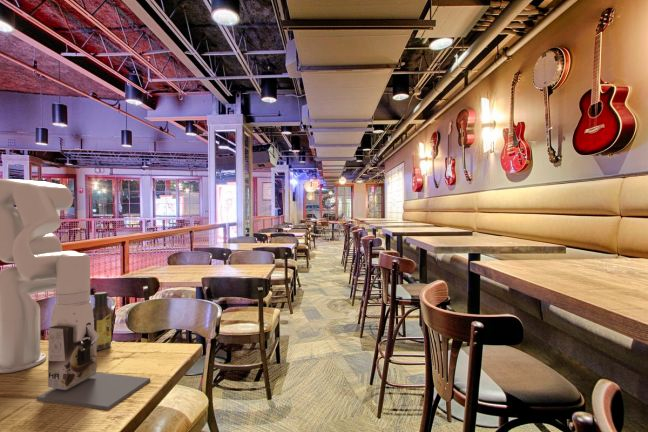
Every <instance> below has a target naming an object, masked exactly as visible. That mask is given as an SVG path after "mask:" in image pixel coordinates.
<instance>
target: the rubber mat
mask: <svg viewBox="0 0 648 432" xmlns="http://www.w3.org/2000/svg"><path fill="white" fill-rule="evenodd" d="M150 382H151V378H150V377H141V376H135V375H134V376H133V375H124V374H116V373H109V372H107V373H106V372H97V371H96V374H95V375H93V376H91V377H90V378H88V379H86V380H84V381H82V382H80V383H78V384H76V385H74V386H73V387H71V388H69V389H67V390H63V389H56V388H50V389H49V390H48V391H47V390H46V391H45V392H44V393H43V392H42V393H41V394H40V395H38V396H36V401H42V402H48V403H49V402H50V403H56V404H61V405H62V404H63V405H71V406H77V407H78V406H79V407H84V408H91V409H92V408H93V409H100V410H106V411H108V410H111V409H112V408H113V407H115V406H116V405H117V404H119V403H120V402H122V401H123V400H125V399H126V398H127V397H129V396H131V395H132V394H133V393H135V392H136V391H139V390H140V389H141V388H143V386H145V385H147V384H148V383H150Z"/></svg>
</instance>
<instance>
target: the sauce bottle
mask: <svg viewBox="0 0 648 432" xmlns="http://www.w3.org/2000/svg"><path fill="white" fill-rule="evenodd" d="M108 295H109V293H108V291H98V292H95V293H94V294H93V298H94V307H92V309H93V317H94V319H97V334H98V335H99V338H98V339H97V348H96V349H97V351H101V350H106V349H108V348H109V347H111V346H112V311H111V308H110V307H109V305H108Z"/></svg>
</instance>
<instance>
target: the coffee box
mask: <svg viewBox="0 0 648 432" xmlns="http://www.w3.org/2000/svg"><path fill="white" fill-rule="evenodd" d="M94 330H95V331H96V332H97V319H94ZM85 337H86V334H85V335H84V338H85ZM85 343H86V340H83V344H85ZM96 348H97V340H96V341H95V343H94V344H93V346H92V347H91V348H90V361H89V362H87V363H85V364H83V365H81V366H78V351H80V349H79V346H78V342H73V327H68V326H53V327H51V326H50V327H48V355H47V356H48V357H47V359H48V361H47V364H48V365H47V388H49V389H53V388H56V389H63V390H67V389H69V388H71V387H73V386H74V385H76V384H78V383H80V382H82V381H84V380H86V379H88V378H90V377H91V376H93V375H95V374H96V372H97V356H98V355H97V351H98V350H97V349H96Z"/></svg>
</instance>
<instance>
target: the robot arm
mask: <svg viewBox="0 0 648 432" xmlns="http://www.w3.org/2000/svg"><path fill="white" fill-rule="evenodd" d="M73 204H74V196H73V193H72V191H71V190H70V188H69V187H68V186H67V185H63V184H59V183H56V182H55V183H54V182H49V181H41V180H40V181H39V180H28V179H27V180H25V179H16V178H0V261H1V262H3V263H6V264H15V266H10V267H7V268H4V269H2V270H0V374H8V373H9V374H10V373H15V372H19V371H20V372H21V371H24V370H28V369H30V368H33V367H36V366H38V365H40V364H42V363H44V362H45V361H47V354H46V353H44V352H41V307H40V304H39V302H37V301H36V300H34V299H33V298H32V297H31V295H34V294H38V293H44V292H50V291H55V303H54V305H53V308H52V310H51V311H52V312H51V318H50V327H53V326H68V327H73V342H78V346H79V349H80V351H78V366H81V365H83V364H85V363H87V362H89V361H90V348H91V347H92V346H93V344H94V343H95V341H96V340H97V339H98V338H99V335H98V334H97V332H96V331H95V330H94V317H93V305H92V301H91V257H90V255H89V254H88V253H84V252H78V251H76V250H64V251H63V247H62V241H61V240H60V238H59V237H58V236H57V235H56V234H54V232H56V231H57V230H59V228H60V227H61V225H62V222H61V221H62V220H61V218H60V215H59V213H58V211H67V210H69V209H70V208H71V207H72V206H73ZM15 206H16V207H15ZM85 334H86V337H85V338H84V335H85ZM83 340H86V343H85V344H83Z"/></svg>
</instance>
